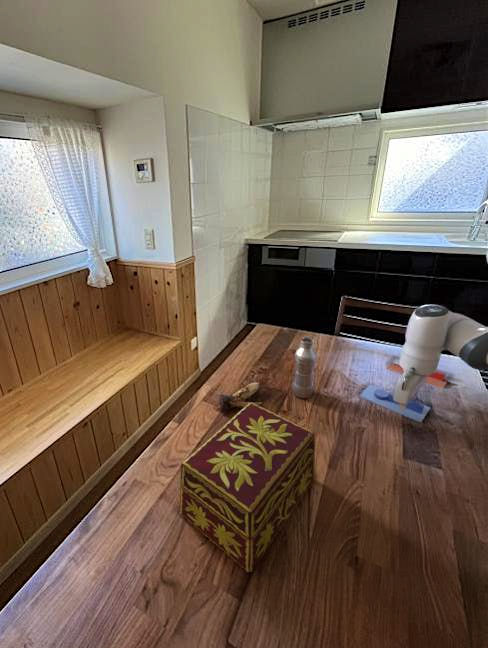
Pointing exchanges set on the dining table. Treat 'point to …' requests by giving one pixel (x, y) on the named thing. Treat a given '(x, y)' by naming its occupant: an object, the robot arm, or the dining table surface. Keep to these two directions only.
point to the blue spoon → (389, 396)
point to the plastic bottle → (304, 368)
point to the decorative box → (247, 481)
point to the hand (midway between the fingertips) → (408, 401)
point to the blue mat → (393, 404)
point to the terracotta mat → (429, 380)
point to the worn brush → (238, 398)
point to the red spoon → (436, 375)
